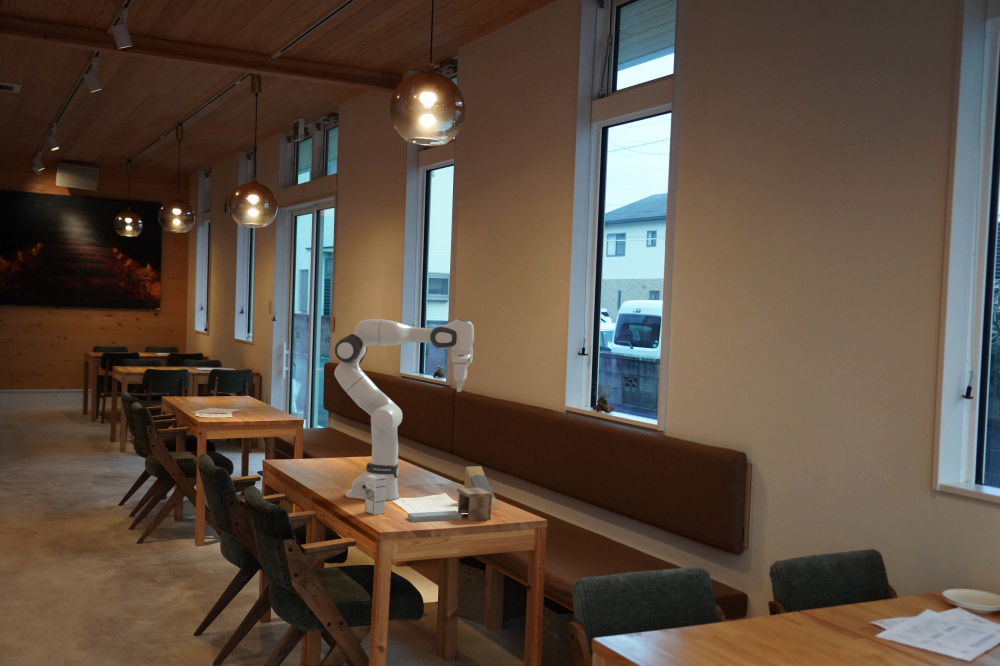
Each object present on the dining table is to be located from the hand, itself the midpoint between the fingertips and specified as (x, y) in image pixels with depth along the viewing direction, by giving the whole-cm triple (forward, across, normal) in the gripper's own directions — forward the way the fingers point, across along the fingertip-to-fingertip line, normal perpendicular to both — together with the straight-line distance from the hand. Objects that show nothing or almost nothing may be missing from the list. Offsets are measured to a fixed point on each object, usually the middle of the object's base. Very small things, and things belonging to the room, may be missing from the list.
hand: (459, 390), depth 363 cm
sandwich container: (+47, 0, +12) cm, 49 cm away
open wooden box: (+47, +23, +10) cm, 53 cm away
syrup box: (+47, +28, -28) cm, 62 cm away
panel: (+48, +31, -4) cm, 57 cm away
